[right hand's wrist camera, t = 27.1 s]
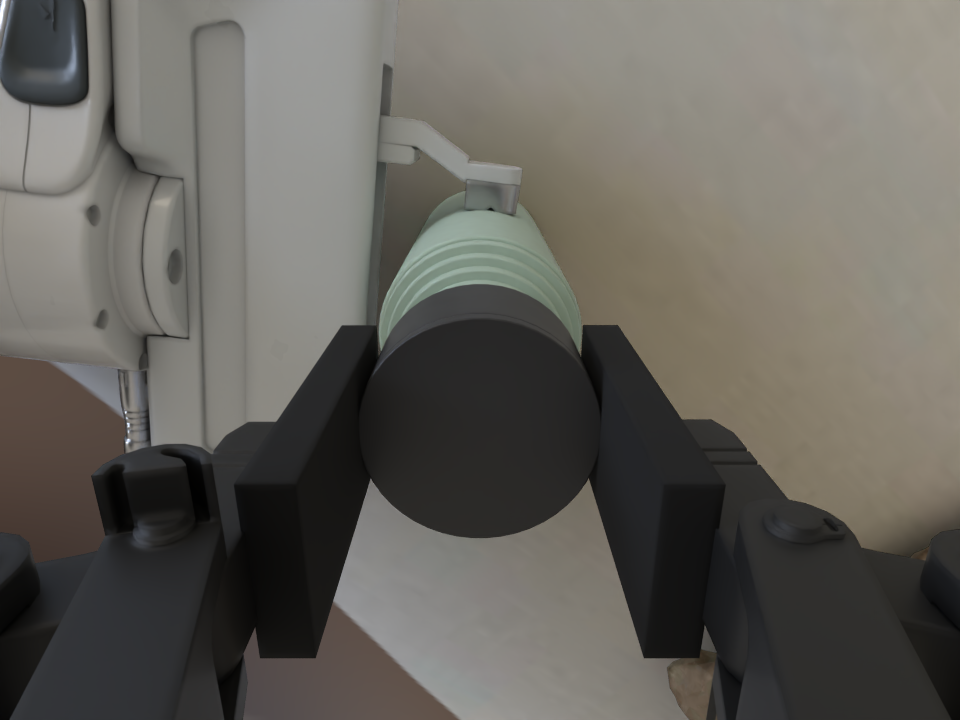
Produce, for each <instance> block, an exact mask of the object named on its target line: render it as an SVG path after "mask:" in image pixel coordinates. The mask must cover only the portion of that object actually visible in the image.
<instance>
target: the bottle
mask: <svg viewBox="0 0 960 720" xmlns="http://www.w3.org/2000/svg"><path fill="white" fill-rule="evenodd" d="M465 192H466V191H463V192H460V193H457V194H455V195H453V196H451V197H449V198H447V199H446V200H444V201H443V202H442V203H441V204H439V205H438V206H437V207H436V208H435V209H434V210H433V212H432V213H431V214H430V216H429V217H428V219H427V221H426V223H425V224H424V226H423V228H422V230H421V232H420V234H419V235H418V237H417V239H416V241H415V243H414V245H413V246H412V248H411V250H410V252H409V254H408V255H407V257H406V259H405V261H404V263H403V265H402V266H401V268H400V270H399V272H398V274H397V276H396V277H395V279H394V281H393V283H392V285H391V287H390V288H389V290H388V292H387V295H386V297H385V300H384V302H383V306H382V310H381V314H380V321H379V343H380V348H381V351H382V348H383V346H384V344H385V341H386V339H387V338H388V336H389V334H390V332H391V331H392V329H393V328H394V326H395V325H396V324H397V322H398V321H399V320H400V319H401V318H402V317H403V316H404V315H405V314H406V313H407V312H408V311H409V310H410V309H411V308H412V307H414V306H415V305H416V304H418V303H419V302H420V301H422V300H424V299H425V298H427V297H429V296H431V295H433V294H435V293H438V292H440V291H443V290H445V289H449V288H453V287H456V286H462V285H470V284H490V285H498V286H503V287H507V288H511V289H515V290H517V291H520V292H522V293H524V294H527V295H529V296H531V297H532V298H534V299H536V300H538V301H539V302H541V303H542V304H543V305H545V306H546V307H547V308H549V309H550V310H551V311H552V312H553V313H554V314H555V315H556V316H557V317H558V318H559V319H560V320H561V322H562V323H563V324H564V326H565V327H566V328H567V330H568V331H569V333H570V335H571V337H572V338H573V340H574V342H575V345H576V347H577V349H578V352H580V347H581V338H582V325H581V316H580V311H579V307H578V304H577V301H576V298H575V295H574V293H573V291H572V289H571V287H570V285H569V284H568V282H567V280H566V278H565V276H564V274H563V273H562V271H561V269H560V267H559V265H558V263H557V262H556V260H555V258H554V256H553V254H552V253H551V251H550V249H549V247H548V245H547V243H546V242H545V240H544V238H543V236H542V234H541V233H540V231H539V229H538V227H537V225H536V223H535V222H534V220H533V218H532V217H531V215H530V214H529V212H528V211H527V210H526V209H525V208H524V207H523V206H522V205H521V204H520V203H519V202H518V204H517V210H516V214H502V213H499V212H496V211H494V210H493V209H492V208H489V209H487V210H485V211H484V210H470V209H464V202H465Z"/></svg>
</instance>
